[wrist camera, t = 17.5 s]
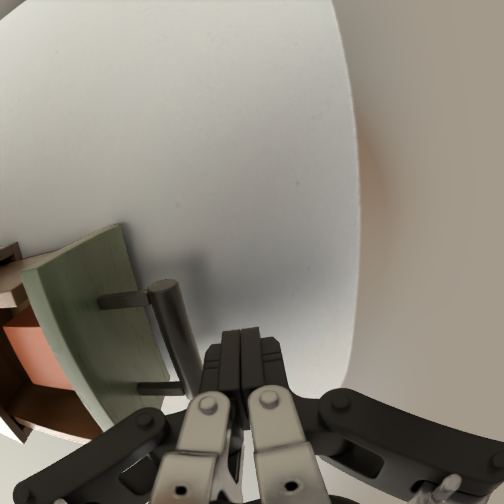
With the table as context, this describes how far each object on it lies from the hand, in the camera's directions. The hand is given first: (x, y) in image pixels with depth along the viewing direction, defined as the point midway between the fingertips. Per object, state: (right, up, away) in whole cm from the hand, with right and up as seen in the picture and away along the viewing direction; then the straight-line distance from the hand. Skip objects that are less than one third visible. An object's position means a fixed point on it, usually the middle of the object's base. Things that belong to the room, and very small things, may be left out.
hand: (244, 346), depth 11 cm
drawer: (-11, -1, +5) cm, 12 cm away
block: (-12, -1, +4) cm, 13 cm away
